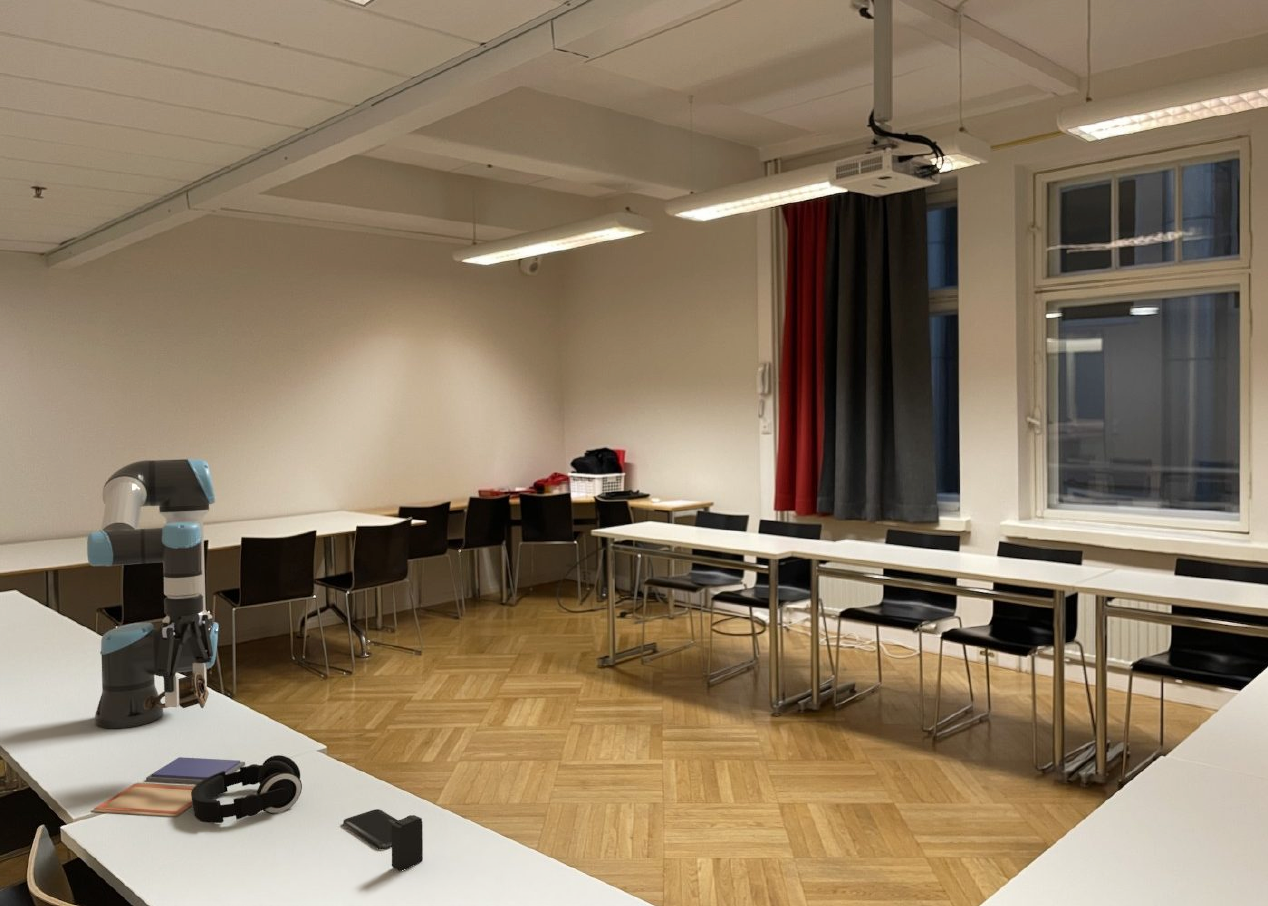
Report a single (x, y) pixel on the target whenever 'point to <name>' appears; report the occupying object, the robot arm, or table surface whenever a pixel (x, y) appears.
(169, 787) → the print sheet
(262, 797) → the headphones
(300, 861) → the table surface
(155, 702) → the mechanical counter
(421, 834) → the ink cartridge
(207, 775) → the ink pad
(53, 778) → the table surface
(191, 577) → the robot arm
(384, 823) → the phone
